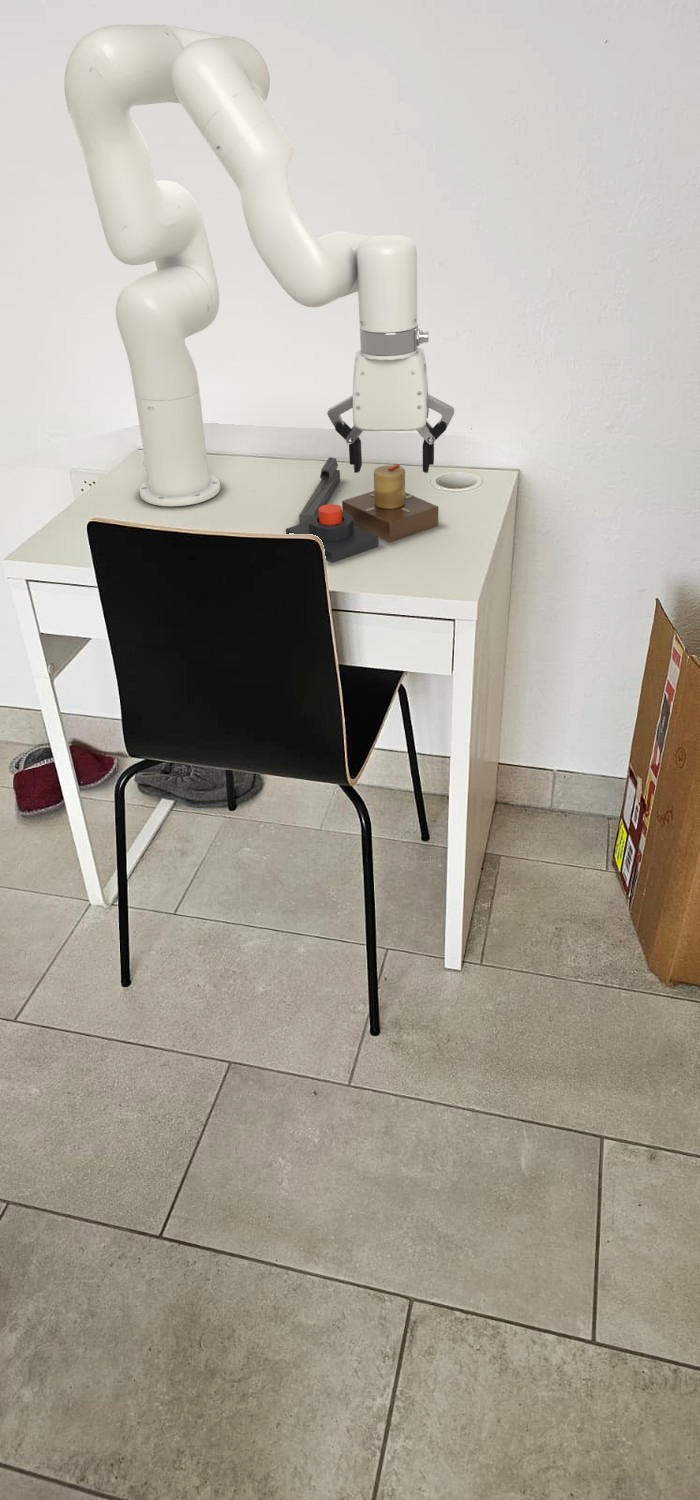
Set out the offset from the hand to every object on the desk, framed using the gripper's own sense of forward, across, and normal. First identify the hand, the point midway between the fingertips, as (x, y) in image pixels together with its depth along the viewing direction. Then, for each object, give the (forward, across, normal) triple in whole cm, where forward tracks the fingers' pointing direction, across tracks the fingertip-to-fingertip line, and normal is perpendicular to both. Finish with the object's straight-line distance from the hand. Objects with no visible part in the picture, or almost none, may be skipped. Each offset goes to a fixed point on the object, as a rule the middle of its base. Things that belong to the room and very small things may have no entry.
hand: (392, 469), depth 143 cm
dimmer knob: (+5, 0, 0) cm, 5 cm away
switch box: (+8, +8, +7) cm, 13 cm away
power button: (+5, +8, +7) cm, 12 cm away
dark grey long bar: (+8, +12, -7) cm, 16 cm away
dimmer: (+8, 0, 0) cm, 8 cm away
